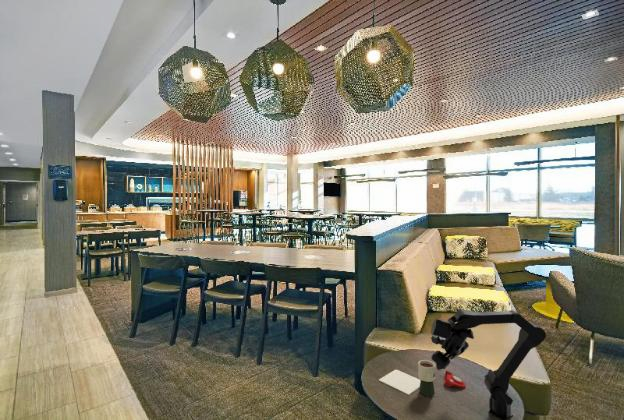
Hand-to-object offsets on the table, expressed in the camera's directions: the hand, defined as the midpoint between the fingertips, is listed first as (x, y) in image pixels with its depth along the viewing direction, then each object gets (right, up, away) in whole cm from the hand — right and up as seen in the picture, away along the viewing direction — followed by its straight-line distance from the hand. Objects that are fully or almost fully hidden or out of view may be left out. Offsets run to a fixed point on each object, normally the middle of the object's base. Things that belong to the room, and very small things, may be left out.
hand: (443, 363), depth 139 cm
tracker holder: (+9, -14, +11) cm, 20 cm away
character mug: (-6, -14, +3) cm, 16 cm away
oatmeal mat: (-15, -14, +12) cm, 24 cm away
